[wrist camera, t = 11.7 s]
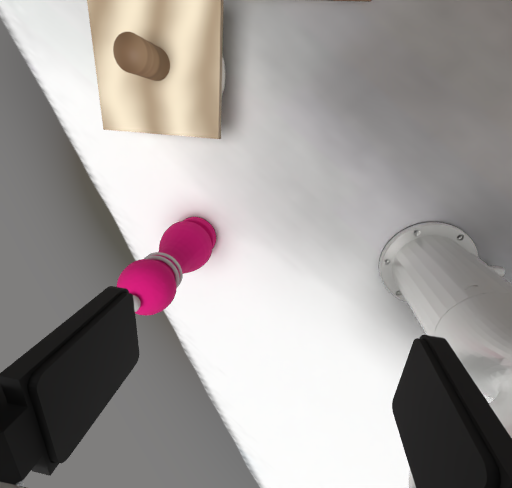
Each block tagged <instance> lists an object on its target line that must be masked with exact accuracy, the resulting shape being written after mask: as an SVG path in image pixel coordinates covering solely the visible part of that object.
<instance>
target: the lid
mask: <svg viewBox="0 0 512 488" xmlns="http://www.w3.org/2000/svg"><path fill="white" fill-rule="evenodd" d="M87 3H88V11H89V19H90V26H91V34H92V42H93V50H94V58H95V66H96V74H97V82H98V89H99V97H100V105H101V113H102V121H103V129H104V130H115V131H128V132H140V133H152V134H165V135H177V136H189V137H201V138H214V139H221V102H222V51H223V0H87Z"/></svg>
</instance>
